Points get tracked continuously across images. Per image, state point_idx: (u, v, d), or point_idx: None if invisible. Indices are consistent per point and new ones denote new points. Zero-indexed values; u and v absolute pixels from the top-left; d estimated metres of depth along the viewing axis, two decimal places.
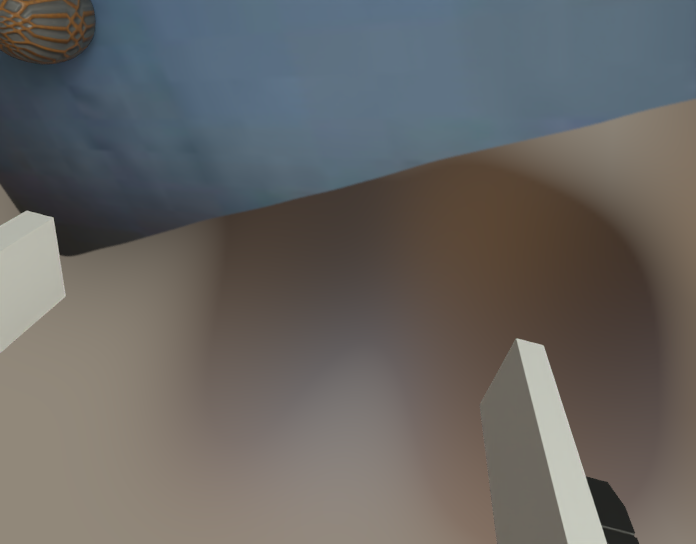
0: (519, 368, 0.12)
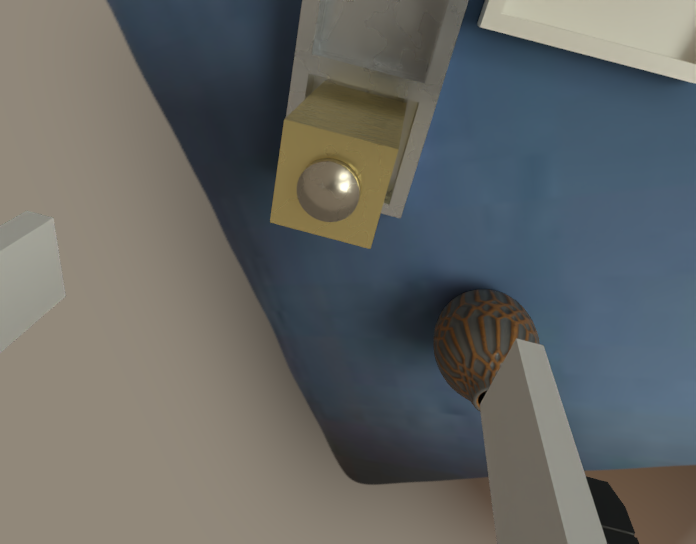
0: (519, 368, 0.12)
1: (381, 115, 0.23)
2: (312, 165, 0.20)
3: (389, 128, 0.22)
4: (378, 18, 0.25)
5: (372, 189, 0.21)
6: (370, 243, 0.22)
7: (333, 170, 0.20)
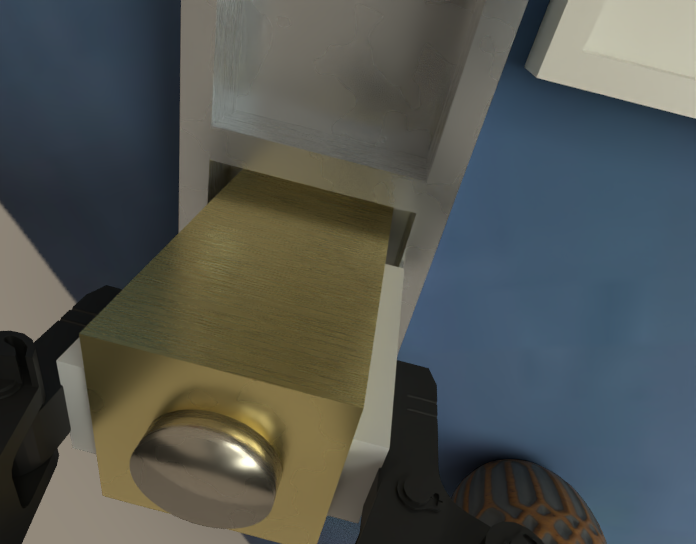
0: None
1: (340, 253, 0.12)
2: (155, 438, 0.08)
3: (351, 305, 0.10)
4: (339, 57, 0.13)
5: (308, 468, 0.09)
6: None
7: (206, 451, 0.08)
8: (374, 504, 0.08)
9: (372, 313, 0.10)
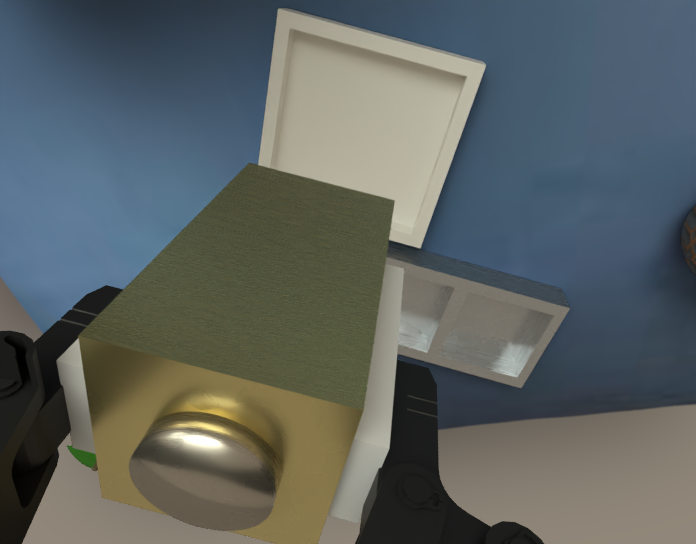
0: None
1: (340, 255, 0.12)
2: (154, 440, 0.08)
3: (351, 306, 0.10)
4: (411, 300, 0.36)
5: (308, 470, 0.09)
6: None
7: (205, 453, 0.08)
8: (374, 504, 0.08)
9: (372, 314, 0.10)
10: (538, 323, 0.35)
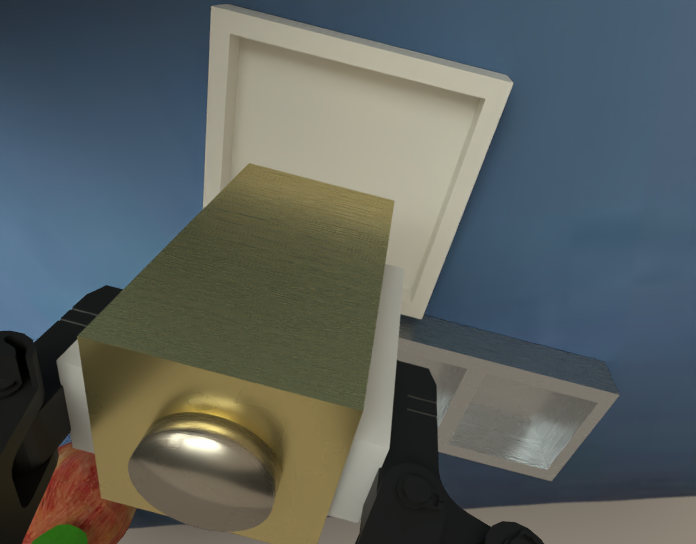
0: None
1: (340, 255, 0.12)
2: (153, 441, 0.08)
3: (350, 306, 0.10)
4: None
5: (307, 471, 0.09)
6: None
7: (204, 454, 0.08)
8: (374, 504, 0.08)
9: (371, 315, 0.10)
10: (574, 404, 0.27)
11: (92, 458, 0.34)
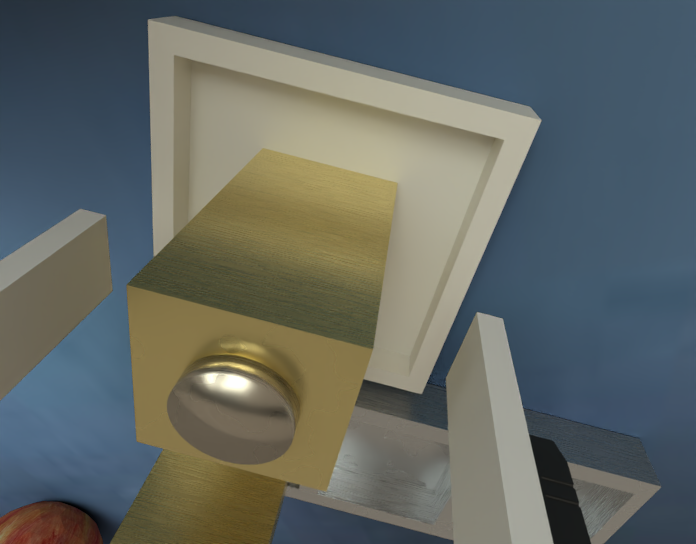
0: (477, 338, 0.12)
1: (349, 227, 0.13)
2: (191, 377, 0.09)
3: (360, 269, 0.11)
4: (409, 447, 0.24)
5: (323, 408, 0.10)
6: (326, 484, 0.12)
7: (235, 388, 0.09)
8: None
9: (379, 276, 0.11)
10: (603, 487, 0.23)
11: (45, 529, 0.30)
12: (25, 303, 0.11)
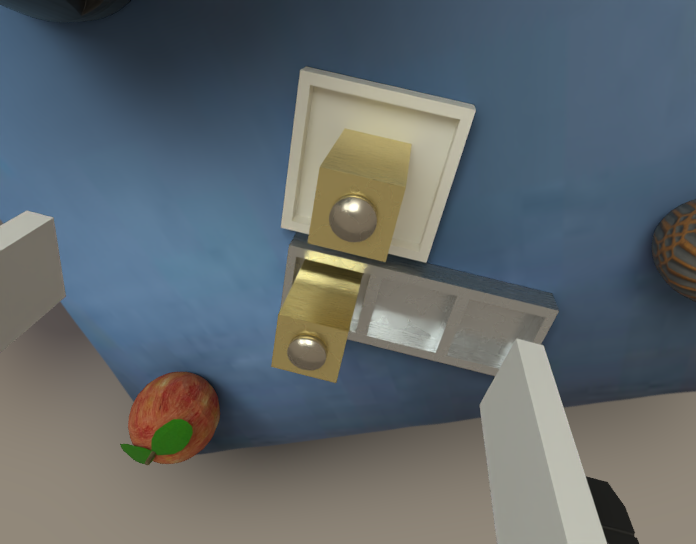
0: (519, 368, 0.12)
1: (391, 157, 0.30)
2: (341, 200, 0.26)
3: (398, 169, 0.28)
4: (420, 307, 0.41)
5: (386, 216, 0.27)
6: (385, 257, 0.28)
7: (357, 203, 0.26)
8: None
9: (406, 171, 0.28)
10: (533, 324, 0.39)
11: (189, 381, 0.47)
12: None
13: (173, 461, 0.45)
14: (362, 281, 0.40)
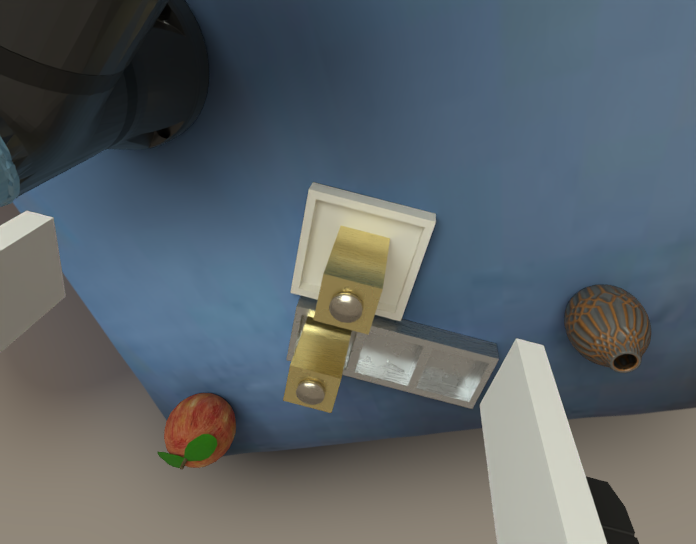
0: (519, 367, 0.12)
1: (374, 256, 0.42)
2: (338, 296, 0.38)
3: (378, 270, 0.40)
4: (396, 350, 0.53)
5: (369, 306, 0.39)
6: (368, 331, 0.40)
7: (348, 299, 0.38)
8: None
9: (383, 271, 0.40)
10: (481, 366, 0.51)
11: (212, 401, 0.58)
12: None
13: (200, 465, 0.57)
14: (352, 330, 0.52)
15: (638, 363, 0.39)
